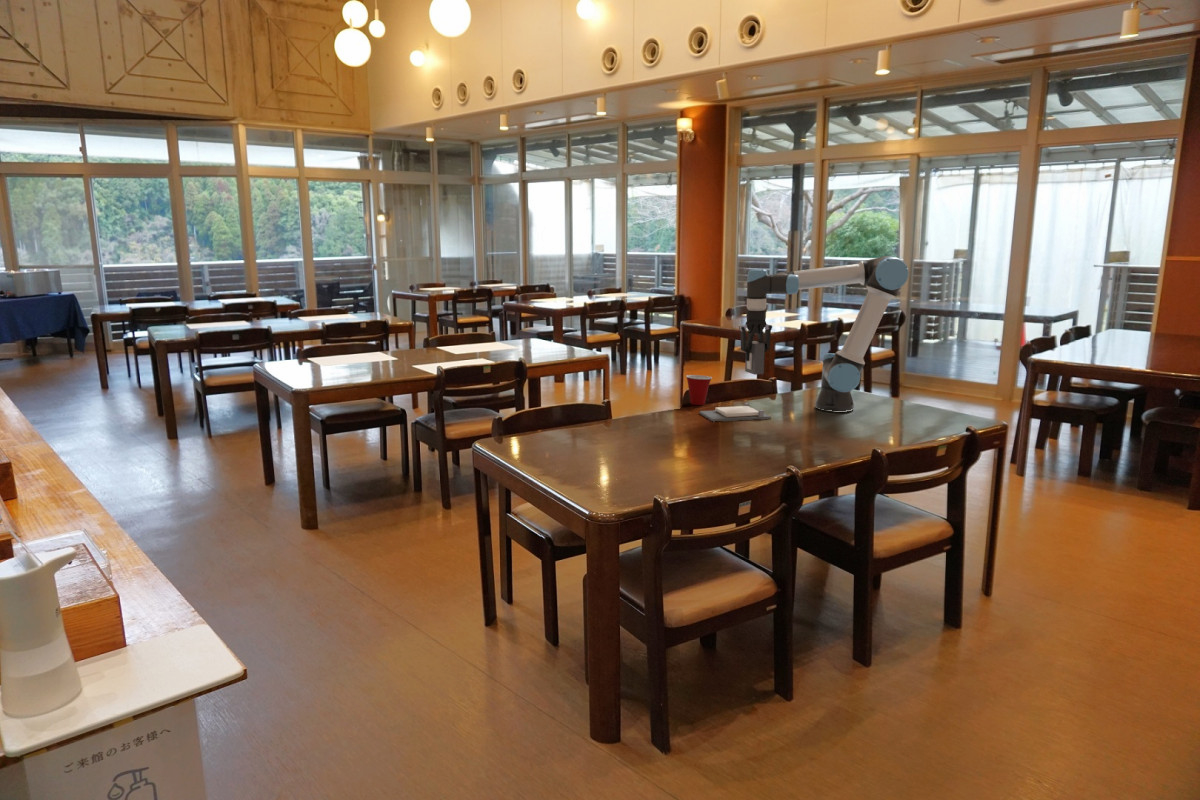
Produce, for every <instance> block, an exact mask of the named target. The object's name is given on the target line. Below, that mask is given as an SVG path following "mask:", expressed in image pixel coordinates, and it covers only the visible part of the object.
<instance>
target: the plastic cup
mask: <svg viewBox="0 0 1200 800" xmlns="http://www.w3.org/2000/svg"><path fill="white" fill-rule="evenodd" d="M685 377H686V380H687V387H688V394H689V395H688V396H689V401H690V404H691V405H693V406H704V405H705V404H706V400H707V396H708V393H709V392H708V391H709V386H710V383H711V380H712V379H713V377H712V376H710V375H709V376H708V375H700V374H699V375H698V374H689V375H688V374H687V375H686V376H685ZM691 390H692V391H691Z"/></svg>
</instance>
